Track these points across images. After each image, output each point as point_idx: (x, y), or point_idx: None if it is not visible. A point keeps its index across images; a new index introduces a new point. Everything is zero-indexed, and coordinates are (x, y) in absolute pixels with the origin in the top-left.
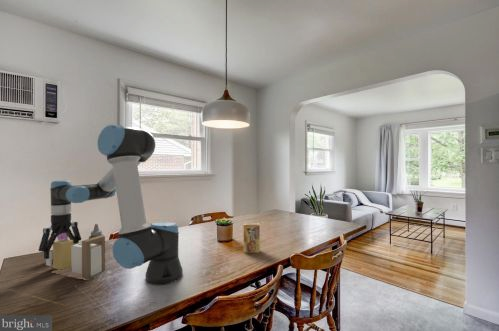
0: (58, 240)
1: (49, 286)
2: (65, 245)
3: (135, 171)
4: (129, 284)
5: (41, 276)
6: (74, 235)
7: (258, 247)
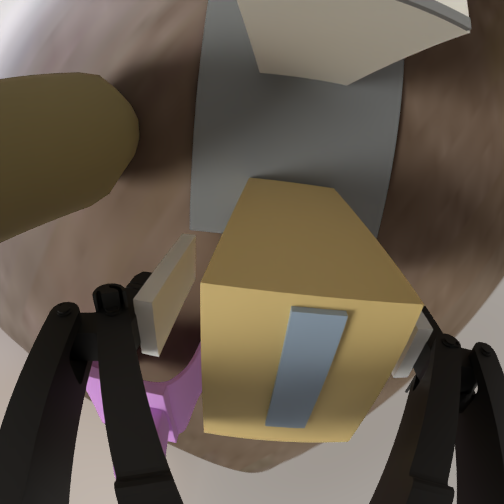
0: (165, 455)
1: (487, 87)
2: (350, 269)
3: None
4: None
5: (411, 243)
6: (81, 401)
7: None
